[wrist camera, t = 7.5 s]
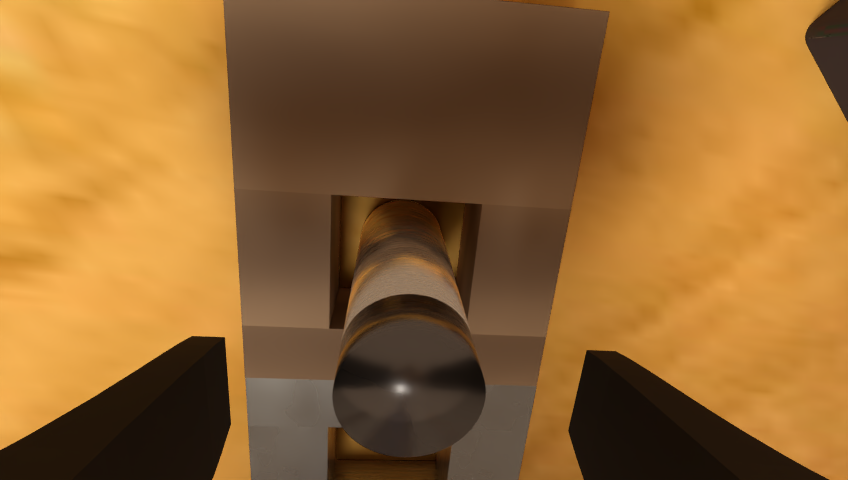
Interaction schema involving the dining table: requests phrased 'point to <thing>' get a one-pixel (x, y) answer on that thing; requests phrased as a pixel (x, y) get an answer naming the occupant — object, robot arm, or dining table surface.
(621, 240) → the dining table surface
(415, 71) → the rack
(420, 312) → the cylindrical metal peg
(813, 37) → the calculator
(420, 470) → the socket block
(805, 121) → the dining table surface
